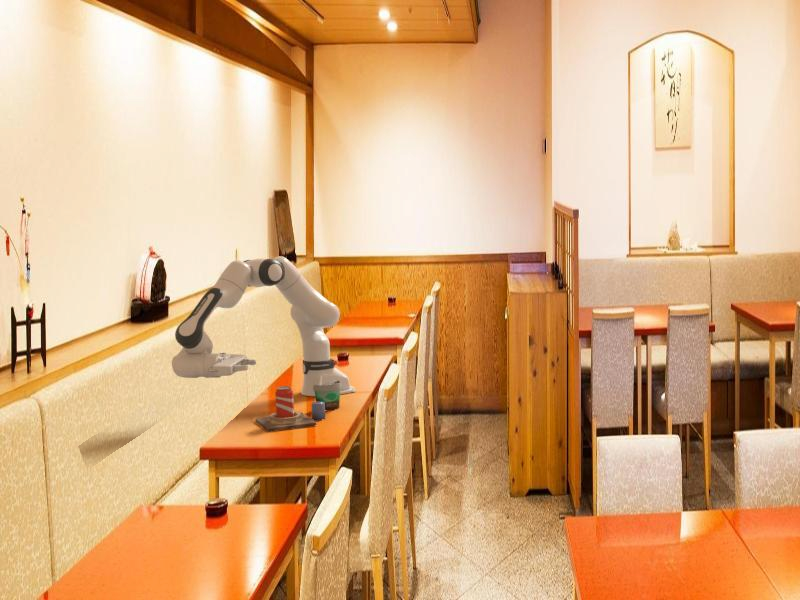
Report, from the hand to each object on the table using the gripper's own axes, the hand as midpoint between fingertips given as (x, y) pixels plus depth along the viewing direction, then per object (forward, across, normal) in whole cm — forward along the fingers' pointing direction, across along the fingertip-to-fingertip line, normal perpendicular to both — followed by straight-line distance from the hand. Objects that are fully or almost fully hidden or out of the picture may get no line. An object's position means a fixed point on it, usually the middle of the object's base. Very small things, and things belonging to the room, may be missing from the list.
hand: (251, 364), depth 366 cm
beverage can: (+11, 0, +21) cm, 24 cm away
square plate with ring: (+12, -1, +22) cm, 25 cm away
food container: (+23, +23, +23) cm, 40 cm away
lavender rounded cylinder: (+22, +7, +22) cm, 32 cm away
